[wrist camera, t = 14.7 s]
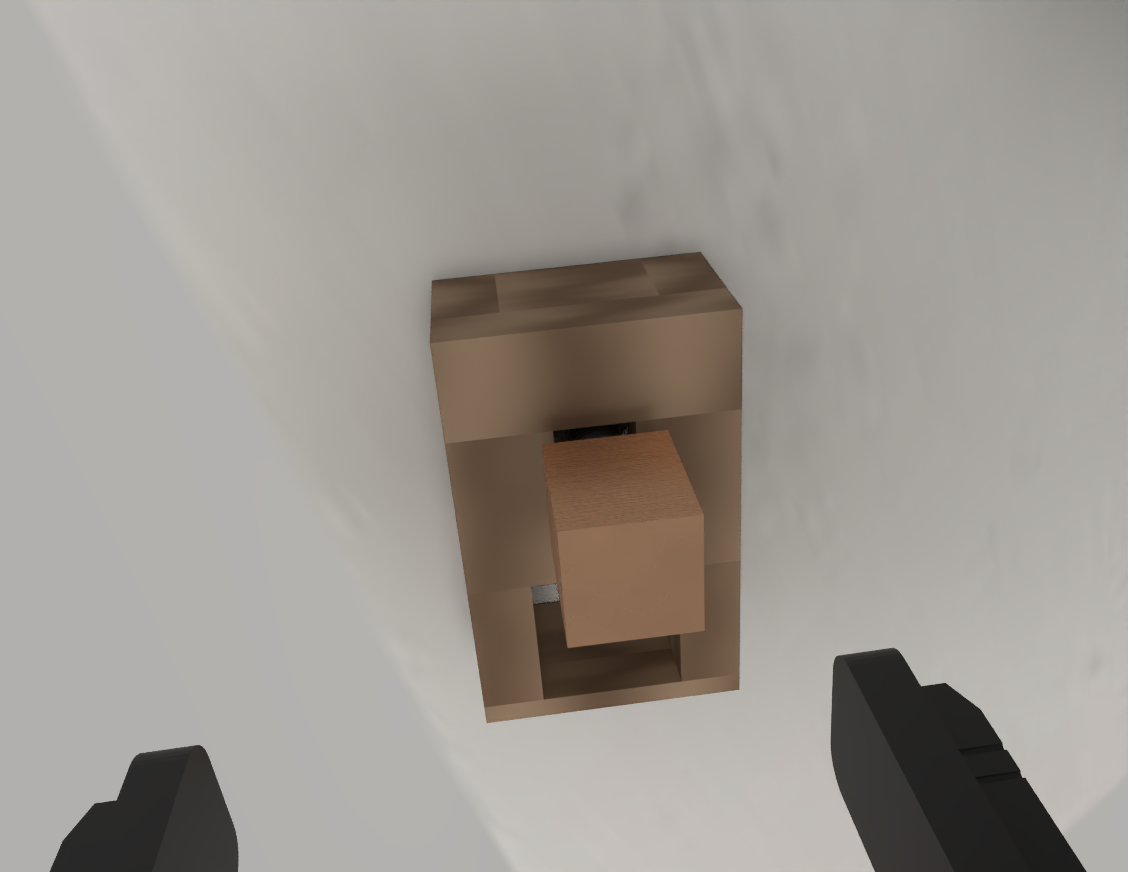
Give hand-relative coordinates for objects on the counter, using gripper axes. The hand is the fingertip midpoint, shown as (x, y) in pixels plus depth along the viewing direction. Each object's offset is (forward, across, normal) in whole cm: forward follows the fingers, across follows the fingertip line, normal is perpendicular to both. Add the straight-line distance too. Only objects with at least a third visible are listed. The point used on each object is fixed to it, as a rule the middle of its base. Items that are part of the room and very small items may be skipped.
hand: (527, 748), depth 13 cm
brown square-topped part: (+26, -3, +8) cm, 27 cm away
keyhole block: (+26, -3, +10) cm, 28 cm away
